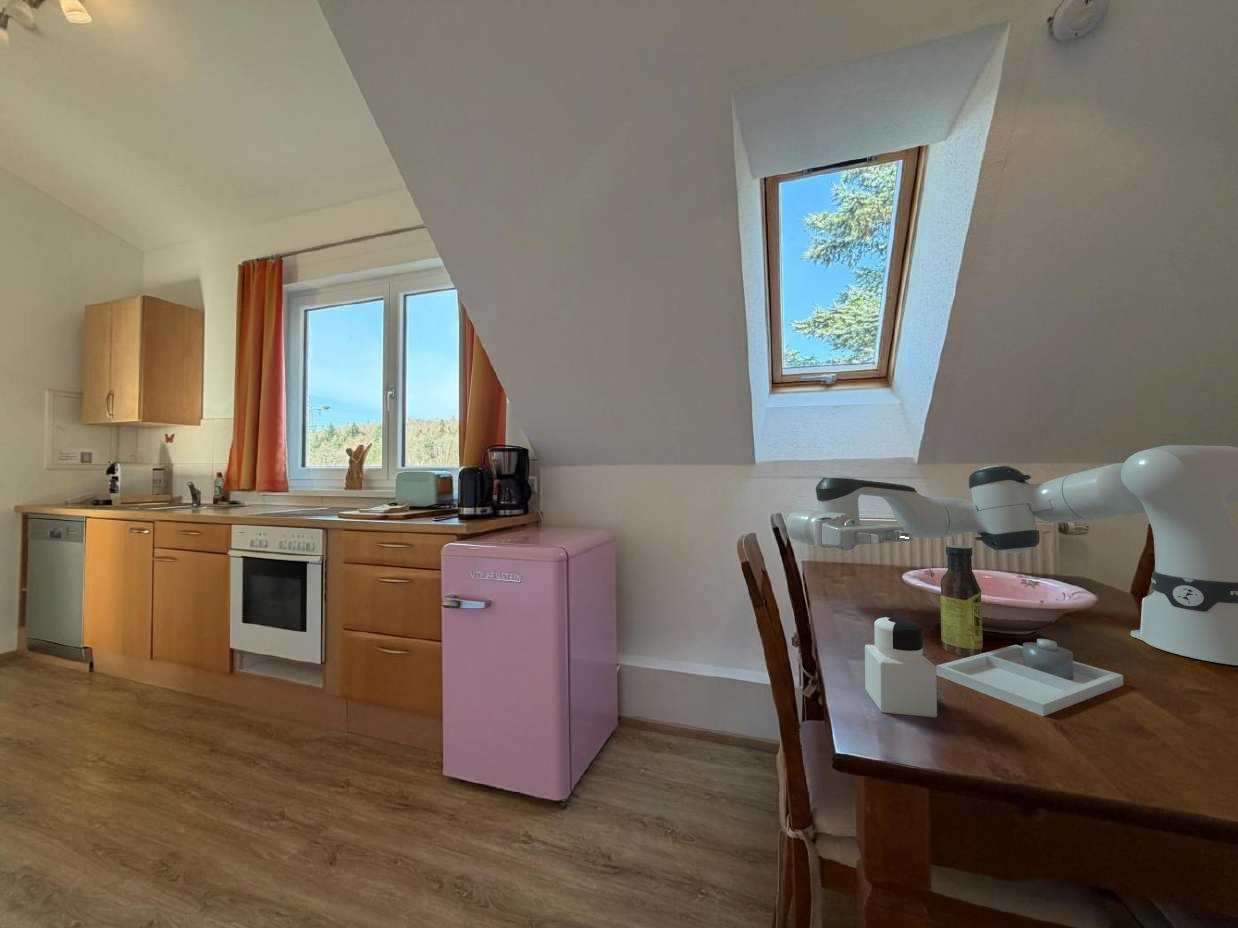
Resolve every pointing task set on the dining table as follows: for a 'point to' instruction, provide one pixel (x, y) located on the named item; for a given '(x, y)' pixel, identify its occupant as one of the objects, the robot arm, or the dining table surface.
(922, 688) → the medicine bottle
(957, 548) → the sauce bottle
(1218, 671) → the dining table surface
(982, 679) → the white rectangular tray
